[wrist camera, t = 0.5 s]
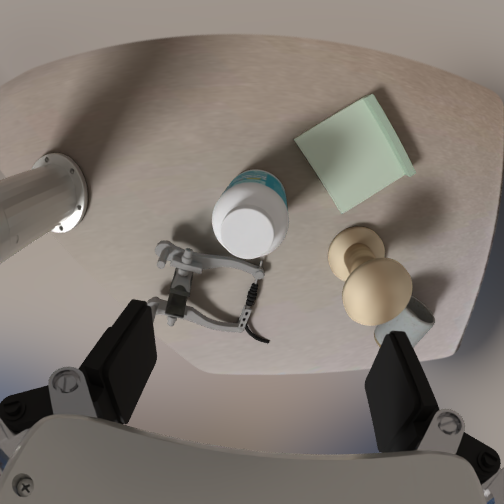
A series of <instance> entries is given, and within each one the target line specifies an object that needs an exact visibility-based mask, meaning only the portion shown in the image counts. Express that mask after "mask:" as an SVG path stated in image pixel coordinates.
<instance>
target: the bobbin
mask: <svg viewBox="0 0 504 504" xmlns="http://www.w3.org/2000/svg"><path fill="white" fill-rule="evenodd" d="M328 261H329V264H330V267H331V270H332V271H333V273H334V274H335V275H336V276H337V277H338V278H339V279H341V280H343V281H345V284H344V287H343V291H342V300H343V304H344V307H345V310H346V312H347V314H348V315H349V317H350V318H351V319H352V320H354V321H355V322H357V323H359V324H362V325H368V326H374V325H380V324H384V323H386V322H388V321H390V320H392V319H394V318H395V317H397V316H398V315H399V314H400V313H401V312H402V311H403V310H404V309H405V307H406V306H407V304H408V302H409V300H410V298H411V295H412V280H411V277H410V275H409V273H408V272H407V270H406V269H405V268H404V267H403V265H401V264H400V263H399V262H397V261H395V260H393V259H390V258H385V248H384V244H383V242H382V240H381V239H380V237H379V236H378V235H377V234H376V233H375V232H374V231H372V230H371V229H369V228H366V227H362V226H355V227H350V228H347V229H345V230H343V231H342V232H340V233H339V234H338V235H337V236H336V237H335V238H334V239H333V241H332V243H331V244H330V247H329V251H328Z"/></svg>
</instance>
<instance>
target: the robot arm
mask: <svg viewBox="0 0 504 504" xmlns="http://www.w3.org/2000/svg"><path fill="white" fill-rule="evenodd" d="M87 202H88V193H87V185H86V182H85V178H84V176H83V174H82V171H81V170H80V168H79V167H78V165H77V164H76V163H75V162H74V161H73V160H72V159H71V158H70V157H68V156H66V155H64V154H61V153H51V154H47V155H44V156H43V157H41V158H40V159H39V160H37V161H36V163H35V164H34V165H33V167H32V169H31V170H29V171H25V172H22V173H19V174H16V175H14V176H11V177H8V178H5V179H2V180H0V264H1V263H2V262H4V261H6V260H7V259H8V258H10V257H11V256H13V255H14V254H16V253H17V252H19V251H20V250H22V249H23V248H25V247H26V246H28V245H29V244H31V243H32V242H34V241H35V240H37V239H38V238H40V237H42V236H43V235H45V234H46V233H48V232H50V231H52V232H56V233H64V232H68V231H70V230H72V229H73V228H75V227H76V226H77V225H78V224H79V223H80V222H81V220H82V218H83V217H84V214H85V212H86V208H87ZM154 337H155V336H154V328H153V319H152V309H151V306H148V304H147V302H146V301H140V300H135V299H133V300H131V301H130V303H129V304H128V305H127V307H126V308H125V309H124V311H123V312H122V313H121V315H120V316H119V317H118V319H117V320H116V322H115V323H114V324H113V326H112V327H109V328H108V329H107V330H106V331H105V333H104V334H103V335H102V337H101V338H100V339H99V341H98V342H97V344H96V345H95V346H94V348H93V349H92V350H91V352H90V353H89V355H88V356H87V357H86V359H85V360H84V362H83V363H82V365H81V366H80V368H79V369H76V368H74V367H63V368H60V369H58V370H56V371H55V372H53V374H52V375H51V376H50V378H49V383H48V385H47V386H44V387H41V388H37V389H33V390H29V391H25V392H22V393H18V394H14V395H10V396H8V397H6V398H5V399H4V400H3V401H2V402H1V403H0V504H504V468H503V469H501V468H500V464H501V463H500V458H499V455H498V454H497V452H496V451H495V450H494V449H492V448H490V447H489V446H487V445H485V444H484V443H482V442H480V441H478V440H477V439H475V438H473V437H471V436H470V435H468V434H466V433H465V432H464V429H465V423H464V421H463V418H462V417H461V416H460V415H459V414H458V413H457V412H455V411H453V410H451V409H442V410H439V407H438V404H437V402H436V399H435V397H434V394H433V392H432V390H431V387H430V385H429V382H428V380H427V378H426V376H425V373H424V371H423V369H422V367H421V364H420V362H419V360H418V358H417V355H416V353H415V351H414V349H413V347H412V345H411V343H410V341H409V338H408V336H407V334H406V333H405V332H404V331H391V332H390V333H389V334H386V335H385V337H384V340H383V342H382V344H381V347H380V349H379V351H378V354H377V356H376V358H375V361H374V363H373V365H372V367H371V369H370V372H369V374H368V376H367V378H366V381H365V390H366V394H367V399H368V403H369V407H370V412H371V417H372V421H373V426H374V431H375V436H376V441H377V446H378V450H379V452H382V453H372V454H348V455H312V454H288V453H273V452H263V451H262V452H261V451H252V450H244V449H236V448H229V447H222V446H216V445H210V444H204V443H198V442H193V441H188V440H184V439H178V438H174V437H170V436H166V435H161V434H157V433H153V432H149V431H145V430H141V429H137V428H134V427H130V426H127V425H123V424H127V423H128V422H129V420H130V418H131V415H132V413H133V411H134V409H135V407H136V404H137V402H138V400H139V398H140V396H141V394H142V391H143V389H144V387H145V385H146V383H147V380H148V378H149V376H150V374H151V372H152V370H153V368H154V366H155V364H156V360H157V352H156V345H155V338H154Z"/></svg>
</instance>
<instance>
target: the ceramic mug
mask: <svg viewBox="0 0 504 504" xmlns="http://www.w3.org/2000/svg"><path fill="white" fill-rule="evenodd" d="M434 323H435V318H434V316H433V314H432V313H431V311H430V310H429V309H428V308H427V307H426V306H425V305H424V304H423V303H422V302H421V301H419V300H418V299H417V298H415V297H413V296H412V295H411V298H410V300H409V302H408V304H407V306H406V307H405V309H404V310H403V311H402V312H401V313H400V314H399V315H398V316H397V317H395V318H394V319H392V320H390V321H388V322H386V323H384V324H380V325H377V327H376V329H375V331H374V337H375V340H376V342H377V344H378V345H379V347H381V344H382V342H383V340H384V337H385V335H386V334H389V333H390V332H391V331H404V332H405V333H406V334H407V336H408V338H409V341H410V343H411V345H412V347H413V348H414V347H415V345H416V344H417V343H418V342H419V341H420V340H421V339H422V338H423V337H424V335H425V334H426V333H427V332H428V331H429V330H430V329H431V328H432V326H433V325H434Z"/></svg>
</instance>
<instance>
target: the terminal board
mask: <svg viewBox="0 0 504 504" xmlns="http://www.w3.org/2000/svg"><path fill="white" fill-rule="evenodd" d="M294 141H295V142H296V144H297V145H298V147H299V148H300V150H301V151H302V153H303V154H304V156H305V157H306V159H307V160H308V162H309V163H310V165H311V166H312V168H313V169H314V171H315V172H316V174H317V175H318V177H319V179H320V180H321V182H322V183H323V185H324V186H325V188H326V190H327V191H328V193H329V194H330V196H331V198H332V199H333V201H334V203H335V204H336V206H337V208H338V209H339V211H340V212H341V214H343V213H345V212H346V211H348V210H350V209H351V208H353V207H354V206H356V205H358V204H359V203H361V202H362V201H364V200H366V199H367V198H369V197H370V196H372V195H374V194H375V193H377V192H378V191H380V190H382V189H383V188H385V187H386V186H388V185H390V184H391V183H393V182H394V181H396V180H397V179H399V178H401V177H402V176H404V175H407V176H409V177H411V176H412V175H414V174H415V173H416V172H415V170H414V168H413V165H412V163H411V161H410V159H409V157H408V155H407V153H406V151H405V149H404V147H403V146H402V144H401V142H400V140H399V138H398V136H397V134H396V132H395V131H394V129H393V127H392V125H391V123H390V122H389V120H388V118H387V116H386V115H385V113H384V111H383V110H382V108H381V106H380V105H379V103H378V101H377V100H376V98H375V96H374V95H373V94H370V95H366V96H364V97H363V98H361V99H359V100H357V101H356V102H354V103H352V104H350V105H349V106H347V107H345V108H344V109H342V110H340V111H339V112H337V113H335V114H334V115H332V116H330V117H329V118H327V119H325V120H324V121H322V122H320V123H319V124H317V125H316V126H314V127H312V128H311V129H309V130H307V131H306V132H304V133H303V134H301V135H300V136H298V137H296V138H295V139H294Z"/></svg>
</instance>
